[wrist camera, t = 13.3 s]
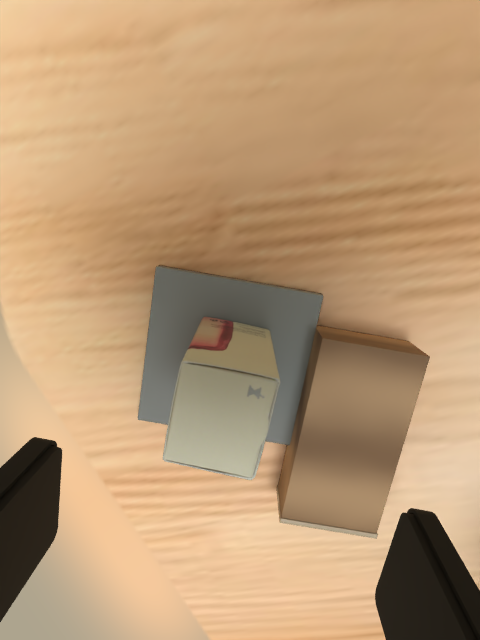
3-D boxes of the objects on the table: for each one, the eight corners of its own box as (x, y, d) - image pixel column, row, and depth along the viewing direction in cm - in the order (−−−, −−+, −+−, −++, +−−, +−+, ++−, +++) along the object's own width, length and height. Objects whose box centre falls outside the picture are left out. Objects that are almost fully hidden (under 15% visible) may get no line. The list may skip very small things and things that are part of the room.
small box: (202, 313, 24) (179, 356, 16) (272, 329, 24) (282, 378, 16) (187, 390, 25) (158, 464, 17) (253, 404, 25) (255, 484, 17)
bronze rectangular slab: (313, 324, 24) (322, 338, 21) (409, 341, 24) (431, 357, 21) (276, 489, 27) (279, 522, 24) (362, 504, 27) (376, 538, 24)
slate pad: (159, 265, 24) (155, 266, 23) (321, 293, 24) (323, 295, 23) (141, 413, 26) (137, 419, 25) (288, 438, 26) (289, 445, 25)
